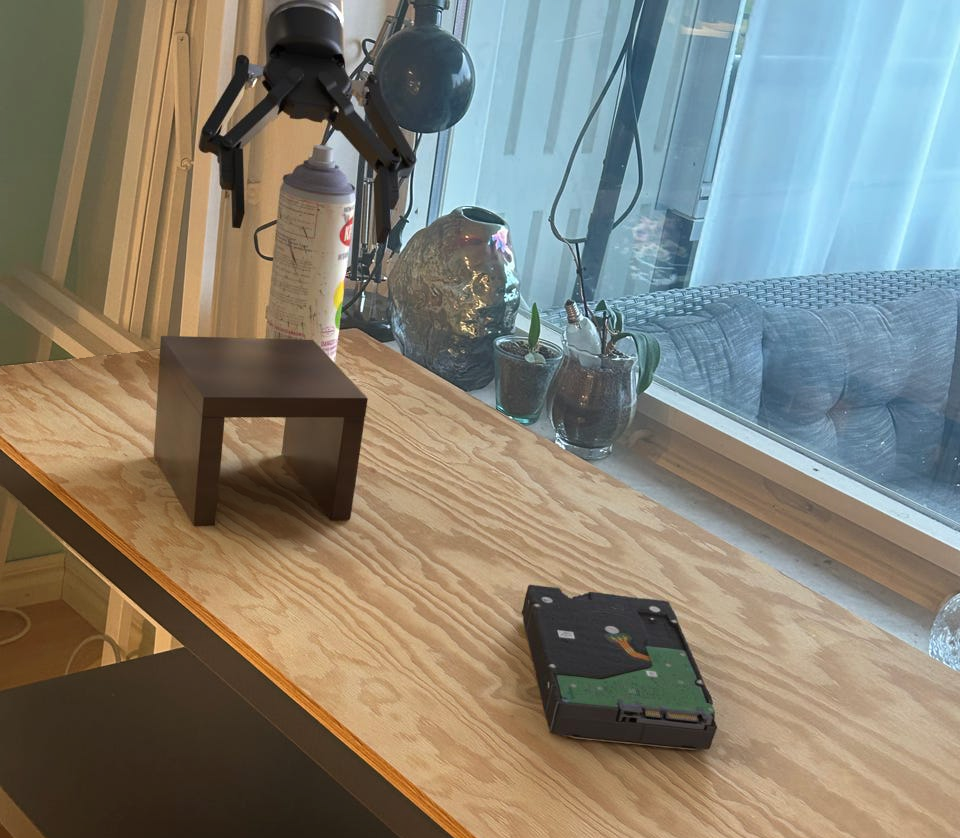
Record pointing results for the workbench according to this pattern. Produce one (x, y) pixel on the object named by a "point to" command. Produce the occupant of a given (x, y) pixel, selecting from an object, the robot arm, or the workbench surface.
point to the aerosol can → (311, 252)
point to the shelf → (256, 415)
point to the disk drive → (616, 670)
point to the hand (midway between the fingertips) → (312, 229)
